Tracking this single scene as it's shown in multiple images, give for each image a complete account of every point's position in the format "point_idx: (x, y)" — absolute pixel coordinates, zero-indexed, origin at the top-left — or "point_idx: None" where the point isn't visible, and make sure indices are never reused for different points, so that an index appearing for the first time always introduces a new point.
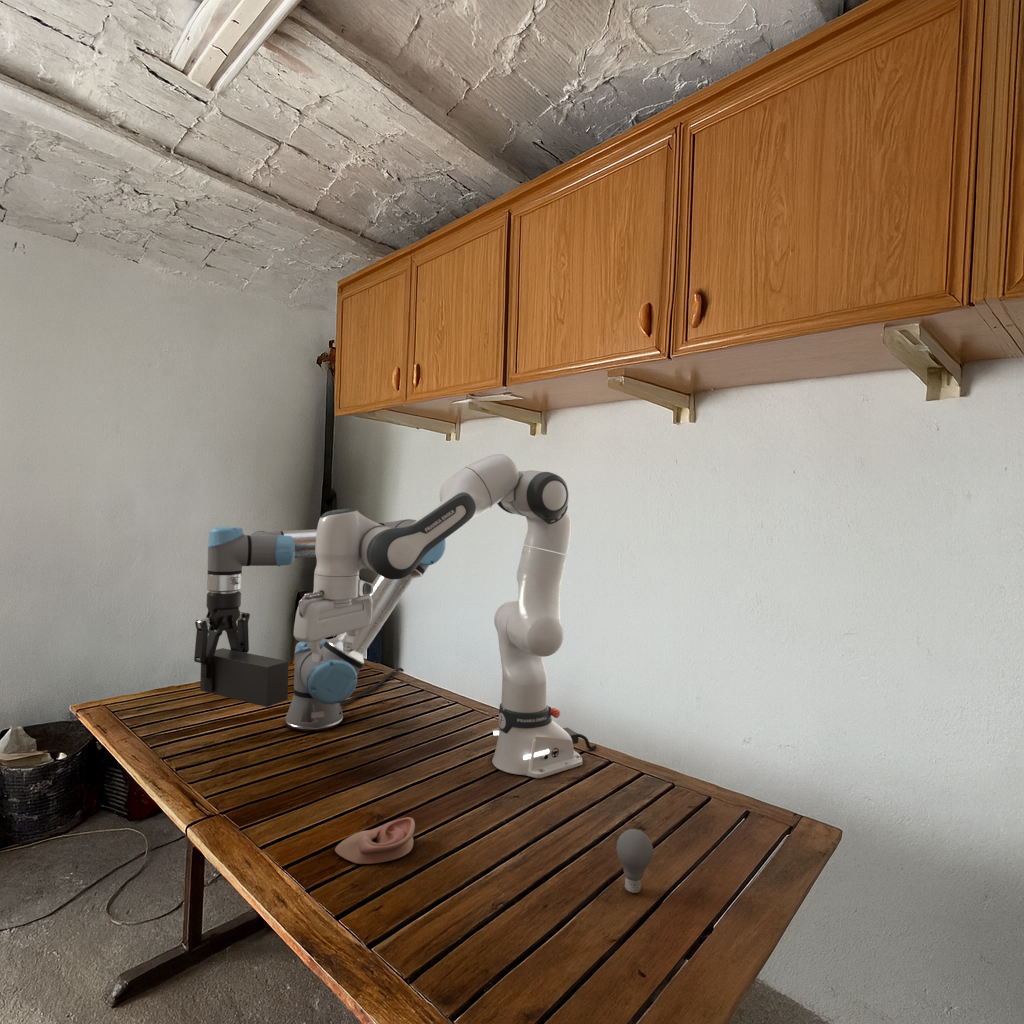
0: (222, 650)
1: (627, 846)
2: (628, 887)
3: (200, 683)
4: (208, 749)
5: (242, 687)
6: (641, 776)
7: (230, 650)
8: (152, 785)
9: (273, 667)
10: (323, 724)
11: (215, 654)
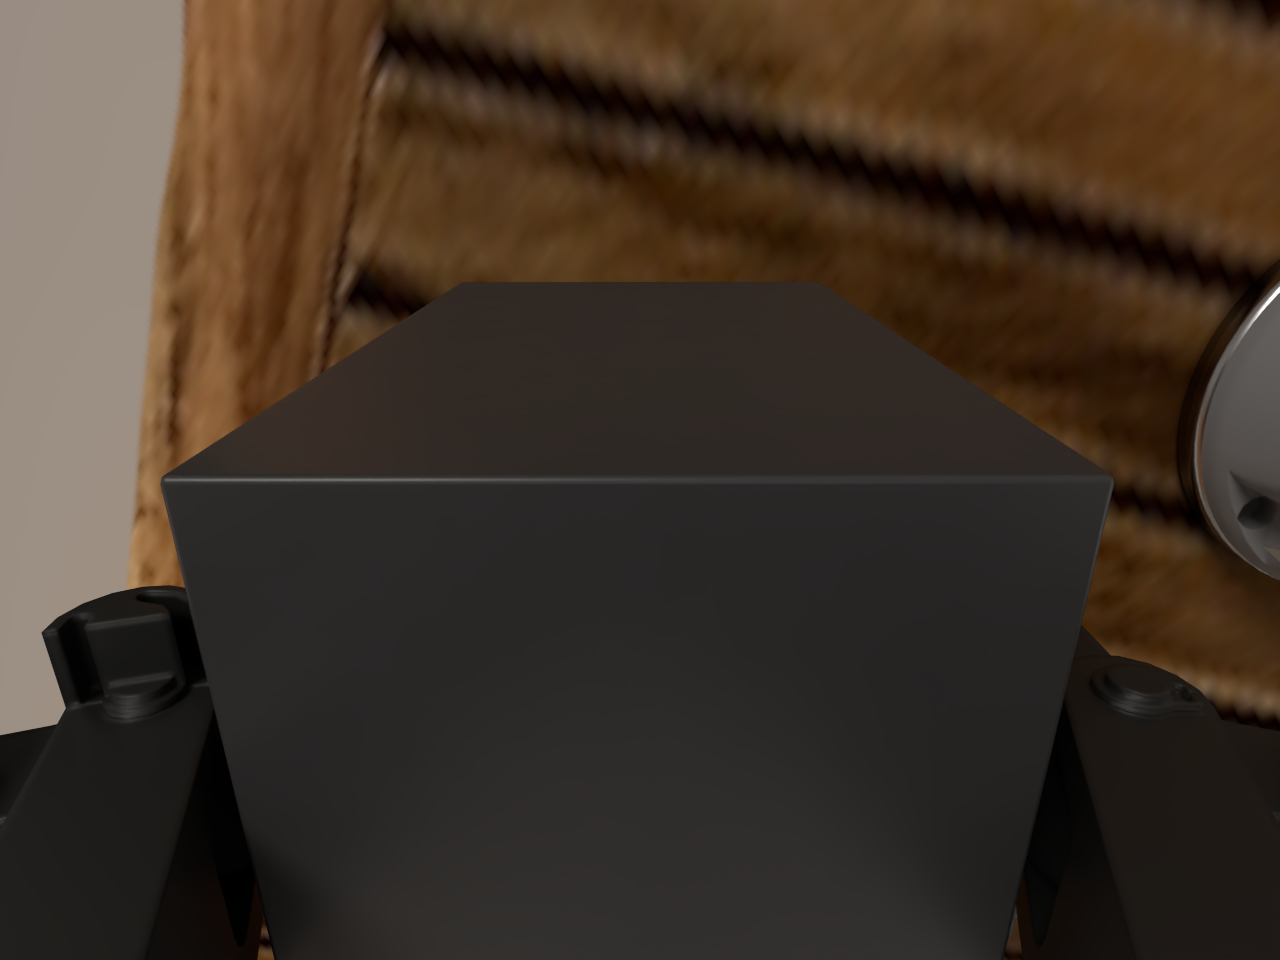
0: (840, 723)
1: None
2: None
3: (436, 301)
4: (664, 176)
5: None
6: None
7: (951, 888)
8: (160, 367)
9: None
10: (1270, 574)
11: (390, 913)
